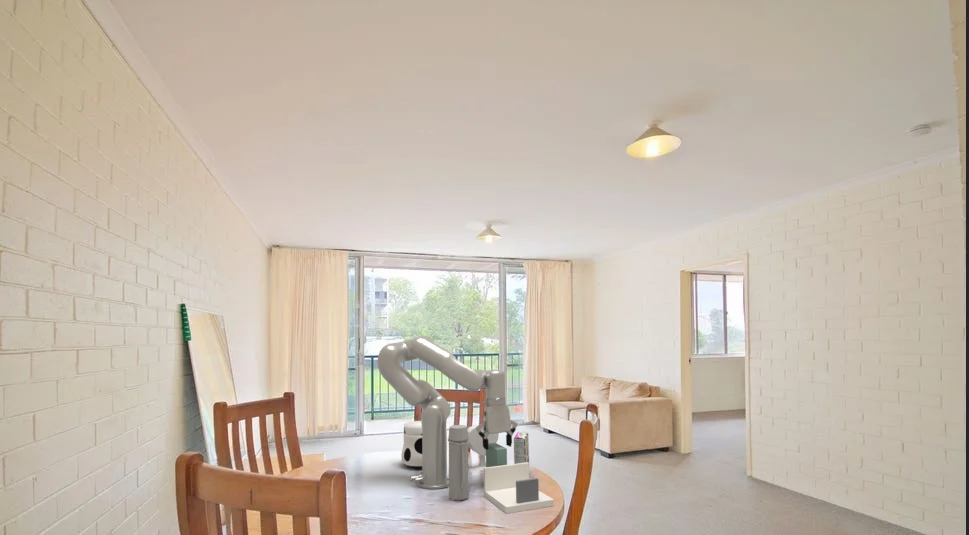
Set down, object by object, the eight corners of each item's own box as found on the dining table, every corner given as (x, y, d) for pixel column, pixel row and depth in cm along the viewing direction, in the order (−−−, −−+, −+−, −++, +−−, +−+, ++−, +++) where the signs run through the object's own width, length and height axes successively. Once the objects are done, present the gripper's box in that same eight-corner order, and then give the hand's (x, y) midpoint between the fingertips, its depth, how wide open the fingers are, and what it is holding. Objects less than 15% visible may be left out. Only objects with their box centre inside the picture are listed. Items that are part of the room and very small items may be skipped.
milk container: (402, 461, 241) (402, 420, 243) (440, 459, 243) (440, 419, 245) (400, 471, 224) (400, 428, 226) (441, 470, 226) (441, 426, 228)
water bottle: (444, 496, 191) (444, 425, 194) (465, 493, 194) (464, 423, 197) (453, 504, 183) (453, 430, 185) (474, 501, 186) (474, 428, 188)
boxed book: (497, 491, 197) (497, 449, 199) (486, 483, 207) (485, 443, 209) (507, 489, 199) (506, 448, 200) (495, 481, 209) (494, 442, 210)
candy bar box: (517, 472, 222) (517, 431, 224) (529, 472, 221) (528, 432, 223) (513, 479, 211) (513, 437, 213) (526, 480, 210) (525, 437, 212)
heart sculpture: (493, 463, 235) (493, 422, 237) (500, 466, 231) (499, 424, 233) (464, 469, 226) (463, 426, 228) (470, 472, 222) (470, 428, 224)
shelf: (506, 513, 174) (506, 482, 175) (483, 496, 191) (483, 467, 192) (554, 505, 181) (553, 475, 182) (528, 489, 198) (527, 462, 199)
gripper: (479, 405, 199) (480, 452, 197) (520, 401, 206) (522, 446, 204) (471, 403, 206) (473, 448, 204) (511, 399, 213) (513, 442, 211)
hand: (497, 447), depth 204 cm, fingers open, 9 cm apart
